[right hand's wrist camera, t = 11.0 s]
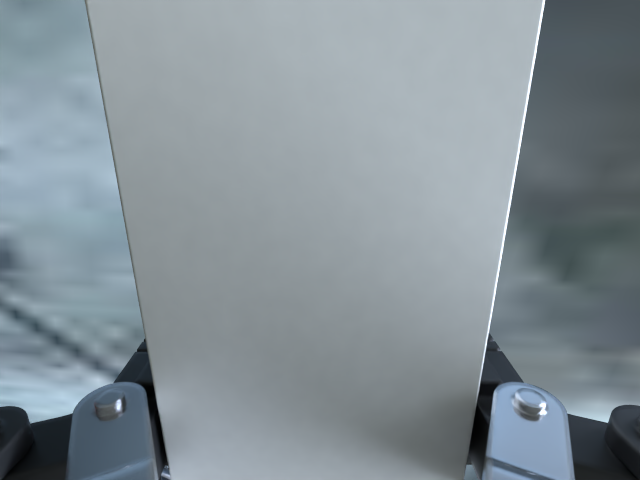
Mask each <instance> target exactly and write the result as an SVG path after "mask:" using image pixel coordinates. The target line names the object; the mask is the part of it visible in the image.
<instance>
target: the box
mask: <svg viewBox="0 0 640 480" xmlns="http://www.w3.org/2000/svg"><path fill="white" fill-rule="evenodd" d="M544 3H545V0H85V4H86V9H87V15H88V21H89V26H90V32H91V37H92V43H93V49H94V54H95V60H96V65H97V71H98V77H99V82H100V88H101V93H102V99H103V104H104V110H105V116H106V121H107V127H108V132H109V138H110V144H111V149H112V155H113V160H114V166H115V172H116V177H117V183H118V188H119V194H120V199H121V205H122V211H123V216H124V222H125V227H126V233H127V239H128V244H129V250H130V255H131V261H132V267H133V272H134V278H135V283H136V289H137V294H138V300H139V306H140V311H141V317H142V322H143V328H144V334H145V339H146V345H147V350H148V356H149V362H150V367H151V373H152V378H153V384H154V390H155V395H156V401H157V406H158V412H159V417H160V423H161V429H162V434H163V440H164V445H165V451H166V457H167V462H168V468H169V473H170V479H171V480H464V475H465V469H466V463H467V457H468V451H469V446H470V440H471V434H472V428H473V422H474V416H475V410H476V404H477V398H478V392H479V386H480V381H481V375H482V369H483V363H484V357H485V351H486V345H487V339H488V333H489V327H490V321H491V316H492V310H493V304H494V298H495V292H496V286H497V280H498V274H499V268H500V262H501V257H502V251H503V245H504V239H505V233H506V227H507V221H508V215H509V209H510V203H511V197H512V192H513V186H514V180H515V174H516V168H517V162H518V156H519V150H520V144H521V138H522V133H523V127H524V121H525V115H526V109H527V103H528V97H529V91H530V85H531V79H532V73H533V68H534V62H535V56H536V50H537V44H538V38H539V32H540V26H541V20H542V14H543V9H544Z"/></svg>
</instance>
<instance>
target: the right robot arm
mask: <svg viewBox="0 0 640 480" xmlns="http://www.w3.org/2000/svg"><path fill="white" fill-rule="evenodd" d="M466 465H472V466H473V468H474V470H475V473H476V475H477V478H478V480H640V406H636V405H622V406H618V407H616V408H615V409H614V410H613V411H612V413H611V416H610V419H609V422H608V423H605V422H601V421H596V420H592V419H588V418H583V417H579V416H574V415H571V414H567V411H566V409H565V407H564V406H563V404H562V403H561V402H560V401H559V400H558V399H557V398H556V397H555V396H553V395H552V394H550V393H549V392H547V391H545V390H544V389H542V388H539V387H537V386H534V385H531V384H527V383H524V382H523V381H522V379H521V378H520V376H519V375H518V374H517V372H516V371H515V369H514V368H513V366H512V365H511V364H510V362H509V361H508V359H507V358H506V356H505V355H504V354H503V352H502V351H500V348H499V346H498V345H497V344H496V342H495V341H493V338H492V336H491V335H490V334H489V333H488V339H487V345H486V351H485V357H484V363H483V369H482V375H481V381H480V386H479V392H478V398H477V404H476V410H475V416H474V422H473V428H472V434H471V440H470V446H469V451H468V457H467V463H466ZM164 466H168V462H167V457H166V451H165V445H164V440H163V434H162V429H161V423H160V417H159V412H158V406H157V401H156V395H155V390H154V384H153V378H152V373H151V367H150V362H149V356H148V350H147V345H146V339H144V342H142V343H141V345H140V346H139V348H138V349H137V352H135V353H134V355H133V356H132V357H131V359H130V360H129V362H128V363H127V365H126V366H125V367H124V369H123V370H122V372H121V373H120V374H119V376H118V377H117V379H116V380H115V381H114V383H113V384H109V385H106V386H103V387H101V388H98V389H96V390H95V391H93V392H91V393H90V394H88V395H87V396H85V397H84V398H83V399H82V400H81V401H80V402H79V403H78V404H77V406H76V407H75V409H74V411H73V413H72V414H69V415H66V416H62V417H58V418H53V419H49V420H44V421H40V422H36V423H31V424H30V422H29V419H28V415H27V413H26V411H24V410H23V409H22V408H19V407H14V406H6V407H0V480H171V479H170V473H169V470H167V469H164Z"/></svg>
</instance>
